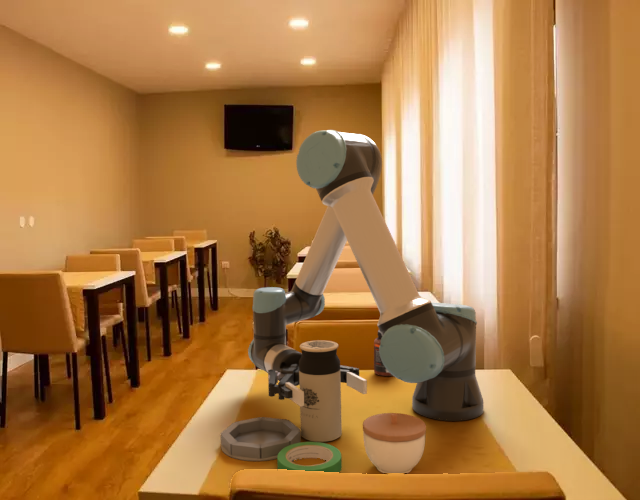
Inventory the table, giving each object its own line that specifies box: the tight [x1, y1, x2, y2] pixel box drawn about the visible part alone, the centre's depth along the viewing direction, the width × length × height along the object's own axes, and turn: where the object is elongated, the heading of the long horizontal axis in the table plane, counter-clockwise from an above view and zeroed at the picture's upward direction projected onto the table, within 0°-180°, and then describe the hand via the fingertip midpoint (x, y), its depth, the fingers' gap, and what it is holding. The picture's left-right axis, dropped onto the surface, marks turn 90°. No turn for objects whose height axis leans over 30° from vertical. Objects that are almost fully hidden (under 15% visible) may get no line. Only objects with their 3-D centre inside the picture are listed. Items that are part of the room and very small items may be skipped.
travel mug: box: [299, 339, 343, 443], centre depth 119 cm, size 8×8×18 cm
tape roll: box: [276, 441, 343, 473], centre depth 106 cm, size 11×11×3 cm
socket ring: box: [220, 416, 302, 462], centre depth 116 cm, size 15×15×2 cm
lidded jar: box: [362, 412, 427, 474], centre depth 105 cm, size 11×11×9 cm
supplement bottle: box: [373, 329, 393, 377], centre depth 159 cm, size 6×6×11 cm
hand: (334, 393), depth 115 cm, fingers open, 13 cm apart
